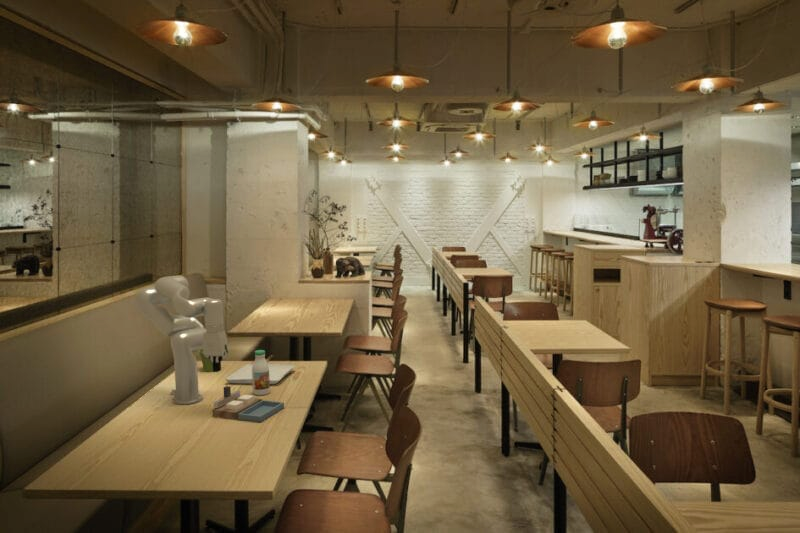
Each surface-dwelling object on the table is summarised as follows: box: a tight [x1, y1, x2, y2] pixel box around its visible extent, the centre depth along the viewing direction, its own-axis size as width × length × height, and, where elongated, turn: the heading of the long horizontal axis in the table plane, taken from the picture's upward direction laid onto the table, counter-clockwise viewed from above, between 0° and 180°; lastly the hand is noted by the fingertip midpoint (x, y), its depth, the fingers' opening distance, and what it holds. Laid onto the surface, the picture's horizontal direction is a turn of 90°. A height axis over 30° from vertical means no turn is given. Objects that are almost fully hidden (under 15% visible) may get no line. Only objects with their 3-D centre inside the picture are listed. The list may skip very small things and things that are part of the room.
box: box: [237, 399, 285, 423], centre depth 248 cm, size 11×18×2 cm, turn 160°
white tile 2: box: [238, 394, 255, 404], centre depth 255 cm, size 5×5×2 cm
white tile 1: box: [226, 400, 244, 410], centre depth 247 cm, size 5×5×2 cm
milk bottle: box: [251, 349, 271, 396], centre depth 275 cm, size 8×8×20 cm
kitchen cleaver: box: [265, 354, 275, 363], centre depth 332 cm, size 24×1×10 cm
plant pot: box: [197, 348, 213, 373], centre depth 316 cm, size 12×12×11 cm
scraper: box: [213, 385, 241, 409], centre depth 253 cm, size 2×16×7 cm, turn 160°
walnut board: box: [211, 397, 263, 421], centre depth 252 cm, size 12×18×3 cm, turn 160°
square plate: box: [224, 363, 296, 385], centre depth 301 cm, size 27×27×4 cm
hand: (217, 371), depth 253 cm, fingers closed
